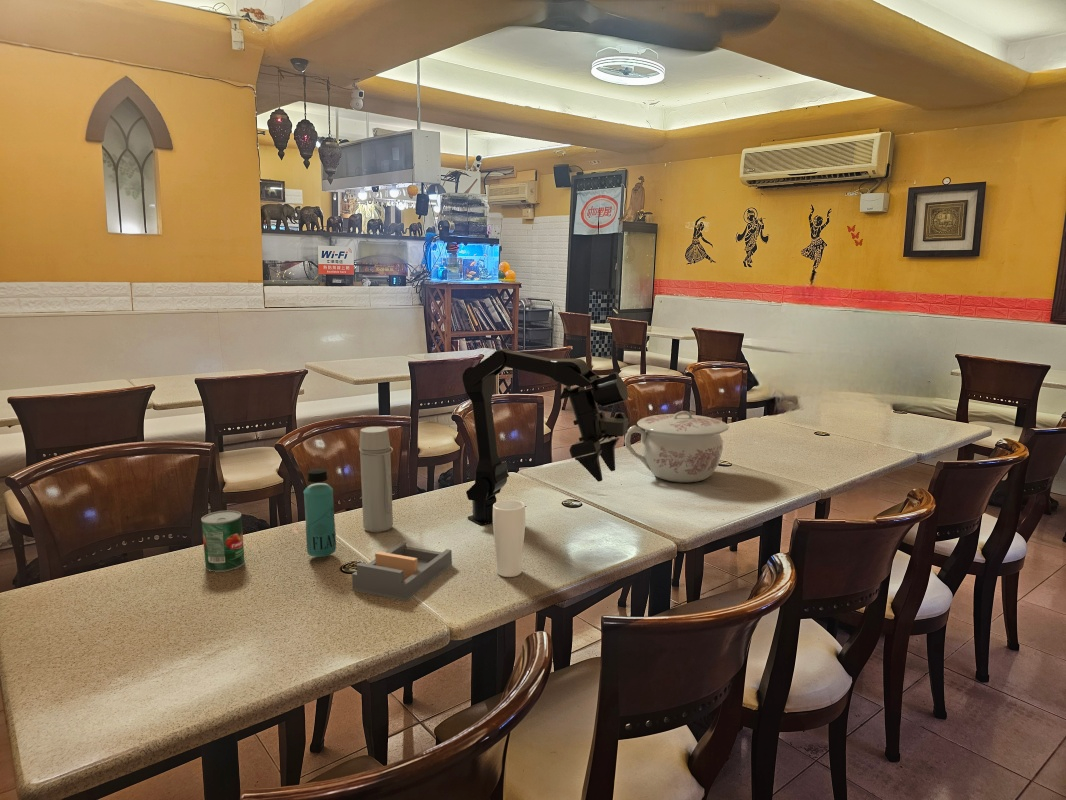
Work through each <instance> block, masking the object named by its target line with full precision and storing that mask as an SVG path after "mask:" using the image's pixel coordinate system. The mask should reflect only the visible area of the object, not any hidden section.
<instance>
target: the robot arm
mask: <svg viewBox="0 0 1066 800" xmlns="http://www.w3.org/2000/svg"><path fill="white" fill-rule="evenodd" d="M505 368H510V369H515V370H519V371H523V372H528V373H533V374H538V375H542V376H546V377H547V378H550V379H551V380H553V382H557V384H561V385H563V386H565V387H563V390H562V393H561V394H560V395H559V399H560V400H563V399H568V400H569V403H570V406H571V409H572V412H573V415H574V418H575V420H573V421H572V422H573V425H574V426H577V427H578V430H579V433H580V437H578V440H579V441H576V442H575V443H573V444H571V446H570V448H569V449H568V450H569V454H570V457H571V459H574V461H577V462H578V463H579V464H580V465H581V466H582V467H583V468H585V469H586V470H587V471H588V473H589V474H590V475H591V476H592V477H593V478H594V479H595V481H597V482H598V483H599V482H602V481H603V474H602V473H603V472H602V468H601V462H600V458H601V459H602V460H603V462H604V464H605V465H606V467H607V469H608V470H609V471H611V472H615V471H616V455H615V454H616V453H615V452H616V451H615V448H616V445H617V443H618V442H619V440H620V437H625V434H626V433H628V429H629V425H630V421H629V418H628V417H627V416H626V413H625V412H617V413H616V414H615V415H614V416H611V417H606V414H605V412H603V411H600V410H599V407H598V406H599V405H600V406H601V407H603V408H605V407H608V406H612V405H616V404H620V403H623V402H626V401H627V400H628V399H629V392H628V388H627V387H628V386H627V384H626V383H625V382H624V380H623V378H621V377H620V374H619V372H618V371H616V372H613V373H610V374H608V375H606V376H603V377H601V376H600V375H598V374H597V373H595V371H593V370H592V369H590V368H589V365H588V364H587V361H586V360H584V359H581V358H550V357H545V356H539V355H535V354H530V353H524V352H519V351H517V350H516V351H515V350H511V349H509V348H502V349H501V348H500V349H497V350H495V351H494V352H493V353H492V354H491V355H489V356H488V357H487V358H485V359H483V360H482V361H481V362H479V363H477V364H476V365H473V366H469V367H467V368H466V369H465V370H464V371H463V373H462V375H461V380H462V381H461V382H462V384H463V387H464V391H465V394H466V396H467V397H468V398H469V399H468V400H470V401H471V404H472V406H471V407H472V414H473V422H474V431H475V437H476V446H477V455H478V460H477V465H476V468H475V470H474V471H475V472H474V483H473V485H471V487H470V488H469V489H467V490H466V491H465V493H466V497H467V500H469V501H471V502H472V515H468V516H467V519H468V520H470V521H472V522H474V523H476V524H478V525H480V526H484V525H487V524H491V523H492V524H493V504H494V503H496V502H497V497H496V495H498V494H500V493H501V490H502V488H503V487H504V486H505V485H506V484H507V482H508V478H509V477H510V475H509V472H508V462H507V461H506V460H504V461H502V460H501V458H500V457H499V454H498V448H497V446H498V445H497V438H496V431H495V422H494V414H493V406H492V405H493V403H492V398H493V396H494V395H493V394H494V391H495V387H496V385H495V384H496V383H495V382H496V377H497V376H498V375H499V374H500V373H502V371H504V370H505ZM574 386H575V387H574ZM589 386H591V387H589ZM571 387H572V388H571ZM585 387H588V388H585Z"/></svg>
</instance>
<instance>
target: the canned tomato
mask: <svg viewBox="0 0 1066 800" xmlns="http://www.w3.org/2000/svg"><path fill="white" fill-rule="evenodd" d="M200 520H201V530H202V531H201V533H202V540H203V552H204V553H203V554H204V563H205V567H206V568H205V567H204V568H205V570H206V569H207V570H206V571H208V570H210V571H209V572H211V571H215V572H214V573H224V572H223V571H226V572H230V571H229V570H231V571H234V570H237V569H239V568H242V567H243V566H244V565H245V563H246V559H245V548H244V536H243V535H244V534H243V532H244V531H243V522H242V521H243V520H242V513H241V512H240V511H237V510H218V511H214V512H210V513H208V514H205V515H203V516H202V517H201V518H200ZM242 565H243V566H242ZM233 569H234V570H233Z"/></svg>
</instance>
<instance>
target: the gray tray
mask: <svg viewBox="0 0 1066 800" xmlns="http://www.w3.org/2000/svg"><path fill="white" fill-rule="evenodd" d="M407 543H408V542H404V541H401V542H400V543H398V544H396V545H395V546H393V547H392V548H390V549H389V550H387V551H385V553H391V554H396V555H402V556H408V557H414V558H417V561H418V571H416V572H415V573H414V574H412V575H411V576H410V577H408V578H407V579H406V580H404V571H403V570H398V569H392V568H387V567H381V566H376V559H372V561H370V562H368V563H364V562H359V563H357V564H356V571H354V572H353V573H351V580H352V581H351V582H352V592H353V591H354V592H358V593H364V594H369V595H373V596H377V597H384V598H388V599H394V600H397V601H403V602H408V601H409V600H410V599H411V598H413V597H414V596H415V595H416V594H417V593H419V592H420V591H422V589H424V588H425V587H426V586H428V585H429V584H430V583H432V582H433V581H434V580H435V579H437V578H438V577H439V576H440V575H442V574H443V573H444V572H445V571H447V570H448V569H449V568H450V567H451V566H453V555H452V552H453V551H452V549H447V548H446V549H445V550H444V551H435V550H431V549H423V548H417V547H411V546H408V545H407Z"/></svg>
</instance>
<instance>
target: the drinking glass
mask: <svg viewBox="0 0 1066 800" xmlns="http://www.w3.org/2000/svg"><path fill="white" fill-rule="evenodd" d="M492 528H493V529H492V530H493V540H494V548H495V549H494V550H495V552H494V553H495V561H496V572H497V574H498V576H501V577H503V578H515V577H517V576H519V575H521V574H522V572H523V558H524V557H523V555H524V554H523V553H524V543H525V541H524V540H525V532H526V504H525V503H524V502H523V501H521V500H517V499H503V500H502V499H501V500H499V501H496V503H494V504H493V522H492Z"/></svg>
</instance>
